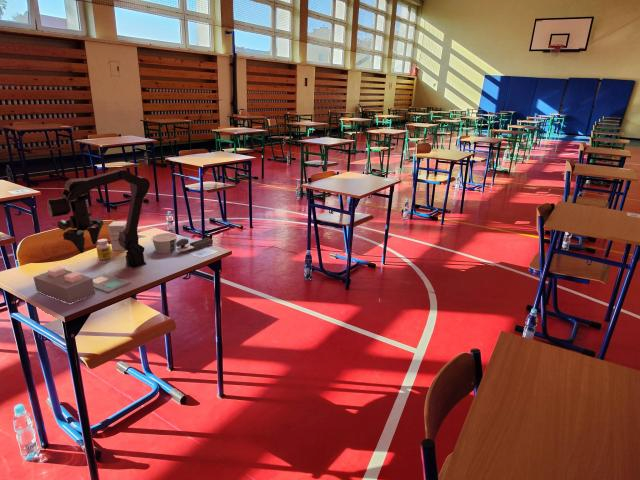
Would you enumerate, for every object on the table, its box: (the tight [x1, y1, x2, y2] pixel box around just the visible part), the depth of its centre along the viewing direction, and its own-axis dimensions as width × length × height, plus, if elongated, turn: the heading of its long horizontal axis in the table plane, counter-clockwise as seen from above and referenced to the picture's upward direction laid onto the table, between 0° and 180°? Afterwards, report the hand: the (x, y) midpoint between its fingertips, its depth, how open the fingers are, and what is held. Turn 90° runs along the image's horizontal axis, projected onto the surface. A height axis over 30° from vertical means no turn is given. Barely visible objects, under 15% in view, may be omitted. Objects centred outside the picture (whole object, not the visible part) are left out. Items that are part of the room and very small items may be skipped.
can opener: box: [176, 237, 214, 252], centre depth 204 cm, size 19×5×6 cm, turn 141°
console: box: [33, 269, 96, 303], centre depth 158 cm, size 10×20×6 cm, turn 62°
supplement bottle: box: [96, 238, 113, 263], centre depth 188 cm, size 5×5×10 cm
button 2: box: [64, 271, 83, 283], centre depth 155 cm, size 4×4×4 cm
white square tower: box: [107, 220, 127, 251], centre depth 203 cm, size 7×7×13 cm
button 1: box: [47, 266, 66, 277], centre depth 160 cm, size 4×4×4 cm
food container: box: [150, 232, 178, 254], centre depth 202 cm, size 12×12×6 cm
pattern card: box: [91, 273, 132, 294], centre depth 167 cm, size 10×16×1 cm, turn 62°
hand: (88, 248), depth 169 cm, fingers open, 9 cm apart
